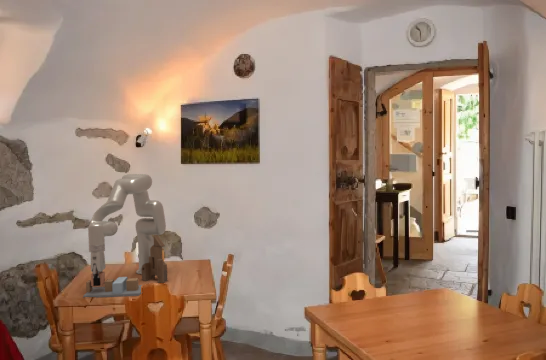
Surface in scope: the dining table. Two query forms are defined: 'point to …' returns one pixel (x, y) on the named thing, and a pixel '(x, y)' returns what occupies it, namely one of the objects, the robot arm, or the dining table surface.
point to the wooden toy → (155, 263)
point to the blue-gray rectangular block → (119, 285)
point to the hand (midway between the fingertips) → (98, 284)
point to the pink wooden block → (102, 278)
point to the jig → (107, 291)
